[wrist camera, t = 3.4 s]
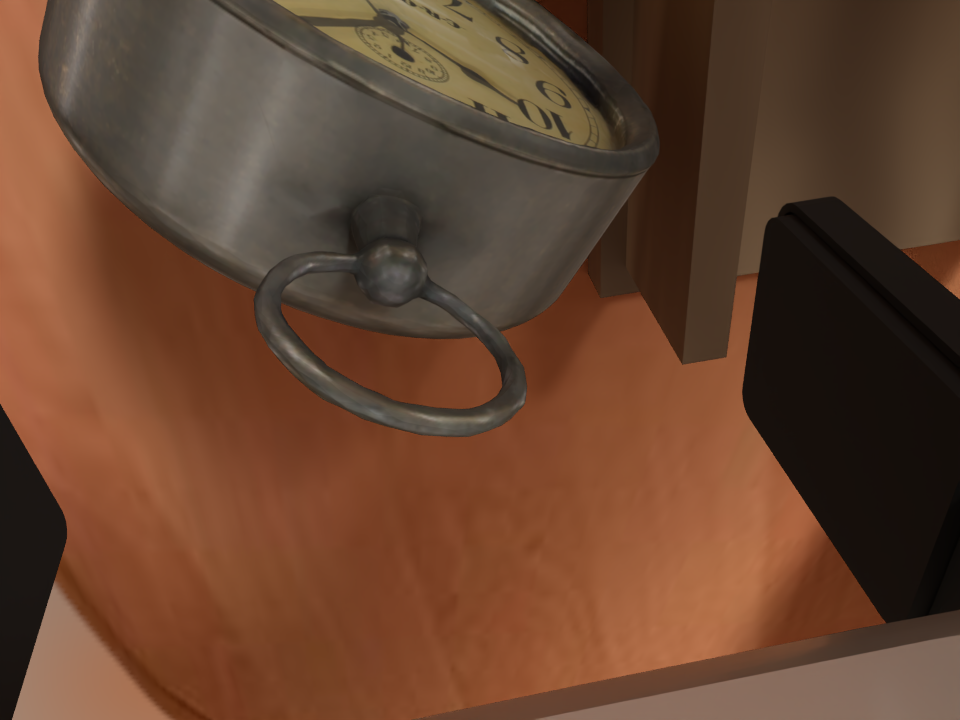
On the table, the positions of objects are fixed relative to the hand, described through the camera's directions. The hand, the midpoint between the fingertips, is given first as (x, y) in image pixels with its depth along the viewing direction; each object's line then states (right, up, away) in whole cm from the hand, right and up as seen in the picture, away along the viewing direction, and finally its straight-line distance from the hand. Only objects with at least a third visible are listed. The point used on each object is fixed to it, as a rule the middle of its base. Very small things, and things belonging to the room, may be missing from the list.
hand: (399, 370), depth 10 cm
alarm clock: (-2, +9, +11) cm, 15 cm away
